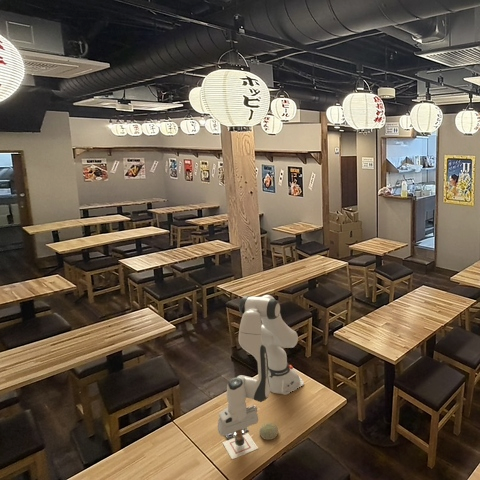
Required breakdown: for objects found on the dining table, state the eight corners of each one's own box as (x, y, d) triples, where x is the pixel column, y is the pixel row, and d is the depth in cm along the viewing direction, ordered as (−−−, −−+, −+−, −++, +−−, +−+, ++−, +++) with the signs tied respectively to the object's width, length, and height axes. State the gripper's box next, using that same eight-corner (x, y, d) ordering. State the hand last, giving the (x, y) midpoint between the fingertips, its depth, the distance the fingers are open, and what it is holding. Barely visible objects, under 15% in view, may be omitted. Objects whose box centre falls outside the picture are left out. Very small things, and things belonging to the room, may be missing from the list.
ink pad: (241, 420, 214) (241, 418, 214) (248, 431, 206) (248, 428, 206) (220, 428, 209) (220, 425, 209) (227, 439, 201) (226, 436, 201)
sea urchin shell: (254, 429, 204) (264, 416, 205) (265, 434, 208) (274, 422, 209) (262, 441, 196) (272, 427, 197) (273, 446, 200) (283, 433, 200)
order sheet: (247, 433, 205) (247, 432, 205) (258, 448, 194) (258, 448, 194) (222, 442, 199) (222, 442, 199) (231, 459, 189) (231, 458, 189)
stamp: (242, 438, 199) (240, 422, 196) (245, 443, 195) (244, 427, 193) (233, 441, 197) (232, 425, 195) (237, 447, 193) (236, 431, 191)
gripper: (253, 400, 198) (255, 424, 202) (215, 414, 190) (217, 438, 194) (259, 408, 193) (261, 432, 196) (220, 422, 185) (222, 447, 188)
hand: (239, 435), depth 195 cm, fingers closed on stamp, 3 cm apart
